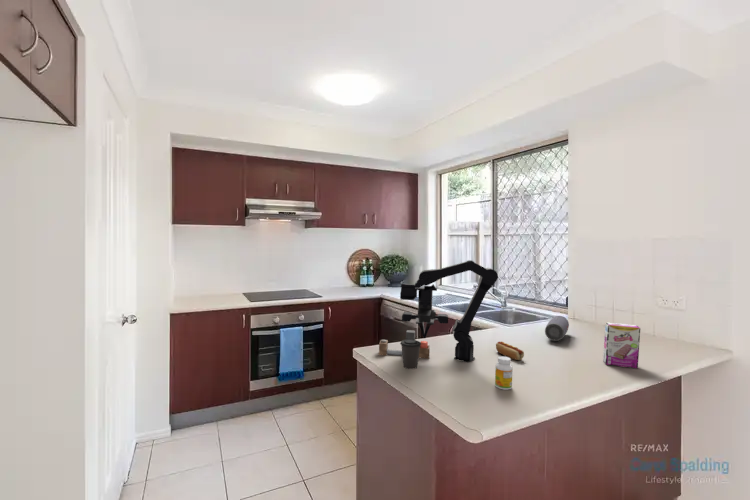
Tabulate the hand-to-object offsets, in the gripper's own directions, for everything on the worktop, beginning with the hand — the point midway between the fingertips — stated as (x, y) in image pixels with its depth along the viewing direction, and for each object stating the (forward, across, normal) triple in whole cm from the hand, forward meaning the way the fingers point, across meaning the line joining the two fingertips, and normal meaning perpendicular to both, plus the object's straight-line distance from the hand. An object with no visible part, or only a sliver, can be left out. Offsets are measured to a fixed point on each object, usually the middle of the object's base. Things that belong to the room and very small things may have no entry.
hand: (424, 338), depth 152 cm
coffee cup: (+8, -5, -13) cm, 16 cm away
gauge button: (+6, 0, 0) cm, 6 cm away
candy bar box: (+8, +78, +6) cm, 78 cm away
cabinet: (+8, 0, 0) cm, 8 cm away
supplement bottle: (+8, +27, -26) cm, 38 cm away
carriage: (+8, -6, 0) cm, 10 cm away
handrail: (+8, -9, 0) cm, 12 cm away
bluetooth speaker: (+8, +66, +43) cm, 79 cm away
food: (+8, +36, +8) cm, 37 cm away
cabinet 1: (+8, -17, 0) cm, 19 cm away
